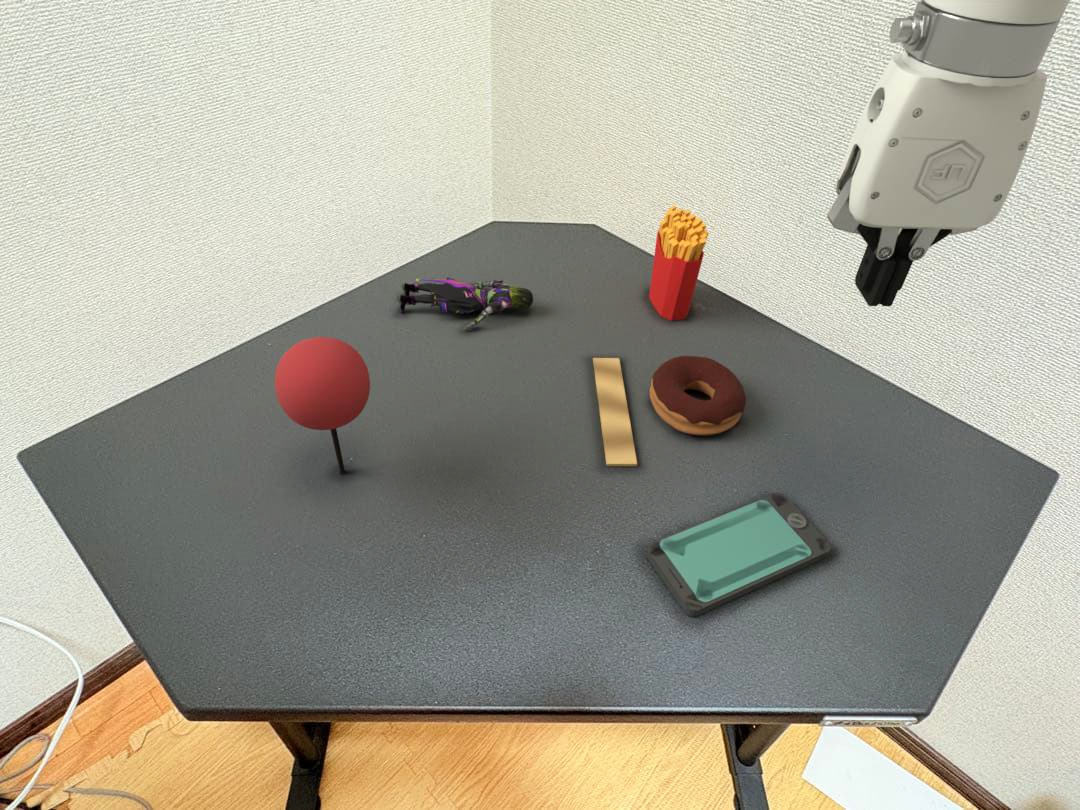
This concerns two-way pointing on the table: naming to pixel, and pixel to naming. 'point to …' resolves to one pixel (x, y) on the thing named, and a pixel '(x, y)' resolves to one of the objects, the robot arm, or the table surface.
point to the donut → (694, 412)
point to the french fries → (677, 263)
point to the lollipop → (323, 385)
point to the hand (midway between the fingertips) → (872, 295)
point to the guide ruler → (614, 413)
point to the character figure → (466, 297)
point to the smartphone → (736, 553)
